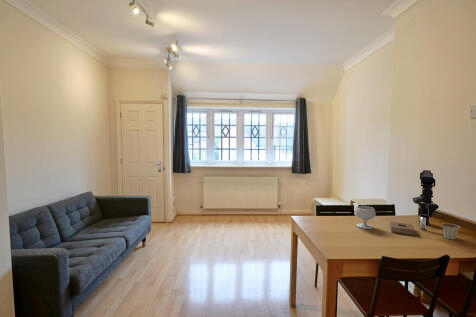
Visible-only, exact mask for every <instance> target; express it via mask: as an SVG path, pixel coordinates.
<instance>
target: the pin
mask: <svg viewBox="0 0 476 317" xmlns="http://www.w3.org/2000/svg"><path fill="white" fill-rule="evenodd" d="M419 221H420V223H419V230H421V231H426V226H427V225H426V218H425V217H421V218H420V217H419Z"/></svg>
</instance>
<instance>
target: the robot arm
mask: <svg viewBox="0 0 476 317" xmlns="http://www.w3.org/2000/svg"><path fill="white" fill-rule="evenodd" d="M419 180H420V187H421V194H420V195H419V196H415V197H412V198H411V199H412V202H413V203H414V204H416V205H419V207H418V211H417V212H418V213H417V214H418V216H419V219H420V218H421V217H425V218H426V226H431V223H430V218H433V216H434V213H435V212H436V210H438V209H439V208H440V207H439V205H438V204H437V203H435V202H434V201H432V199H433V198H434V191H433V188H435V186H436V179H435V178H434V173H432V171H431V170H428V169H427V170H426V169H423V170H422V171H421V172H419ZM418 223H419V224H420V220H418Z"/></svg>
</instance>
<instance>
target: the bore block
mask: <svg viewBox="0 0 476 317" xmlns="http://www.w3.org/2000/svg"><path fill="white" fill-rule="evenodd" d="M389 228H390V232H391V233H392V234H394V233H395V234H398V233H399V235H407V236H414V237H416V231H417V230H416V229H415V227H414V225H413V224H412V223H405V222H397V221H392V220H391V221H389Z"/></svg>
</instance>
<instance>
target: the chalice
mask: <svg viewBox="0 0 476 317" xmlns="http://www.w3.org/2000/svg"><path fill="white" fill-rule="evenodd" d="M354 213H355V216H356V217H358V218H359V219H361V220H362V221H363V222H362V223H357V224H355V225H356V227H357V228H360V229H362V230H363V229H365V230H373V229H374V228H375V227H374V226H373V225H372V224H369V223H367V222H368V221H369V220H373V219H375V217H377V216H376V215H377V214H376V210H375V208H374V207H372V206H368V205H358V206H356V208H355V210H354Z"/></svg>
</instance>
